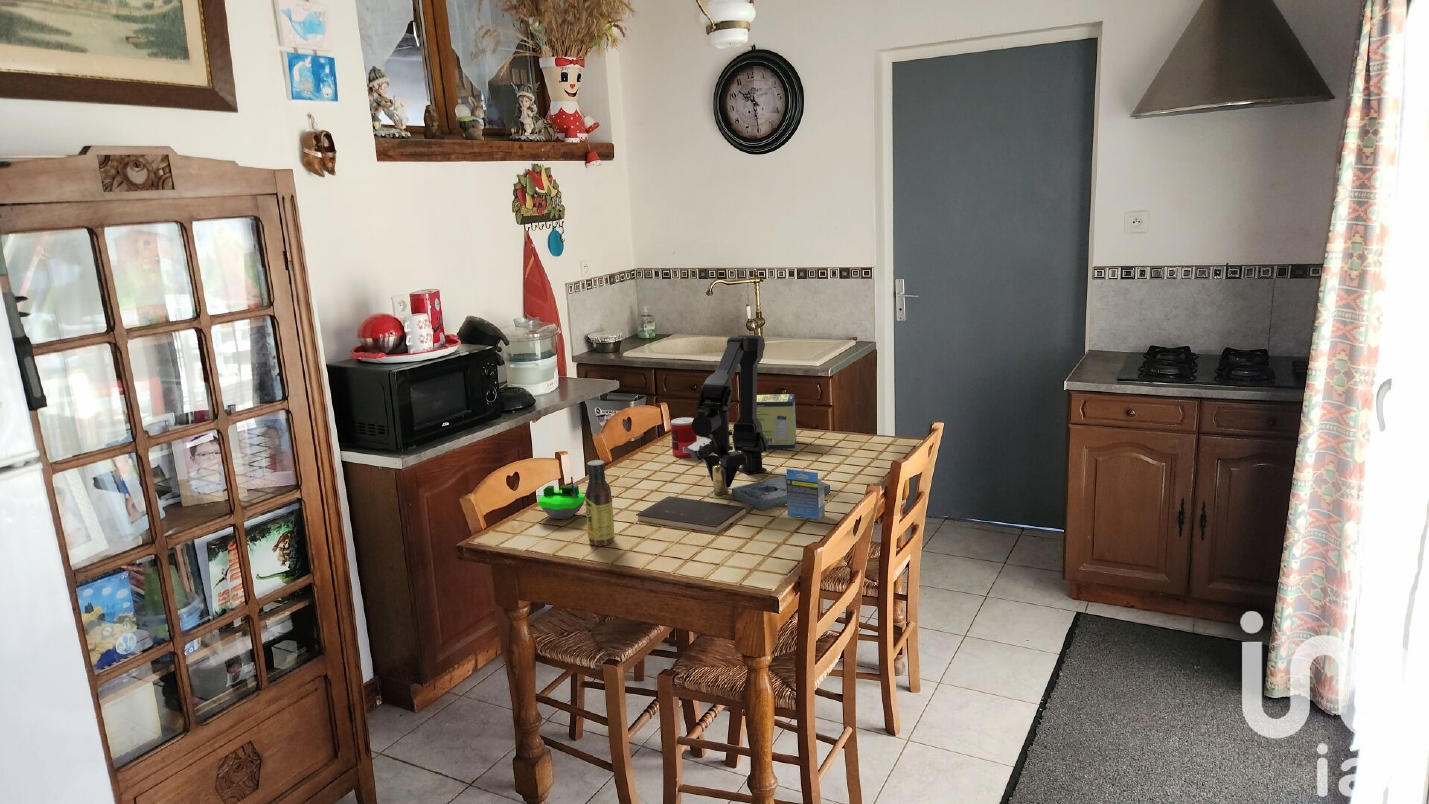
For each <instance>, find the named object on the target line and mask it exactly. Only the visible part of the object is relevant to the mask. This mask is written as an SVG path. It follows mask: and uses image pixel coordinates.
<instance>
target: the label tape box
mask: <svg viewBox="0 0 1429 804" xmlns="http://www.w3.org/2000/svg"><path fill="white" fill-rule="evenodd" d="M785 473H786V474H785V475H786V488H787V505H786V510H787V516H788V515H789V517H794V516H800V517H799V518H803V517H805V518H806V519H812V520H818V519H819V520H821V519H823V517H825V515H826V508H825V505H826V504H825V495H824V484H823V483H819V482H818V480H819V472H816V471H815V472H814V471H807V470H801V469H791V468H786V472H785ZM801 474H803V475H804V476H807V478H800V477H797V476H796V475H801ZM819 520H818V521H819Z"/></svg>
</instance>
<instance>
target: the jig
mask: <svg viewBox="0 0 1429 804" xmlns="http://www.w3.org/2000/svg"><path fill="white" fill-rule="evenodd" d="M796 476H797V477H800V478H807V476H804V475H803V474H801V475H796ZM818 482H819V483H823V484H824V496H828V495H830V494H831V484H829V483H826V482H823V481H821V480H820V479H818ZM829 493H830V494H829ZM827 494H828V495H827ZM731 497H732V498H733V499H736V500H738V501H740V502H742V503H744V504H746V505H748V506H750V507H752V508H754V509H756V510H758V511H761V510H762V511H766V510H769V509H772V508H773V507H774V508H777V507H778V508H779V507H782V505H783V506H786V505H785V504H787V488H786V474H785V475H782V476H780V477H774V478H771V479H766V480H761V481H757V482H752V483H748V484H744V485H739V486H735V487H731Z"/></svg>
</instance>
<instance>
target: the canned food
mask: <svg viewBox="0 0 1429 804" xmlns="http://www.w3.org/2000/svg"><path fill="white" fill-rule="evenodd" d="M694 418H695V417H686V416H685V417H677V418H674V419H672V420H670V433H671V451H672V452H671V453H672V454H673V456H674V457H676V458H683V459H684V458H692V457H691V454H690V452H689V449H688V447H689V446H690V445H692V444H693V443H695V442H696V441H698V436H697V435H696V434H695V433H694V432H693V430H692V422H693V419H694Z"/></svg>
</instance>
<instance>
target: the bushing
mask: <svg viewBox="0 0 1429 804" xmlns="http://www.w3.org/2000/svg"><path fill="white" fill-rule="evenodd" d="M720 464H721V463H720V462H719V464H714V465H713V481H712V482H713V483H712V485H713V486H712V487H713V495H714V496H715V497H725V496H729V493H730V492H729V488H727V487H726V485H725V479H724V472H723V469H722V468H721V467H720V466H719V465H720Z"/></svg>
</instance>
